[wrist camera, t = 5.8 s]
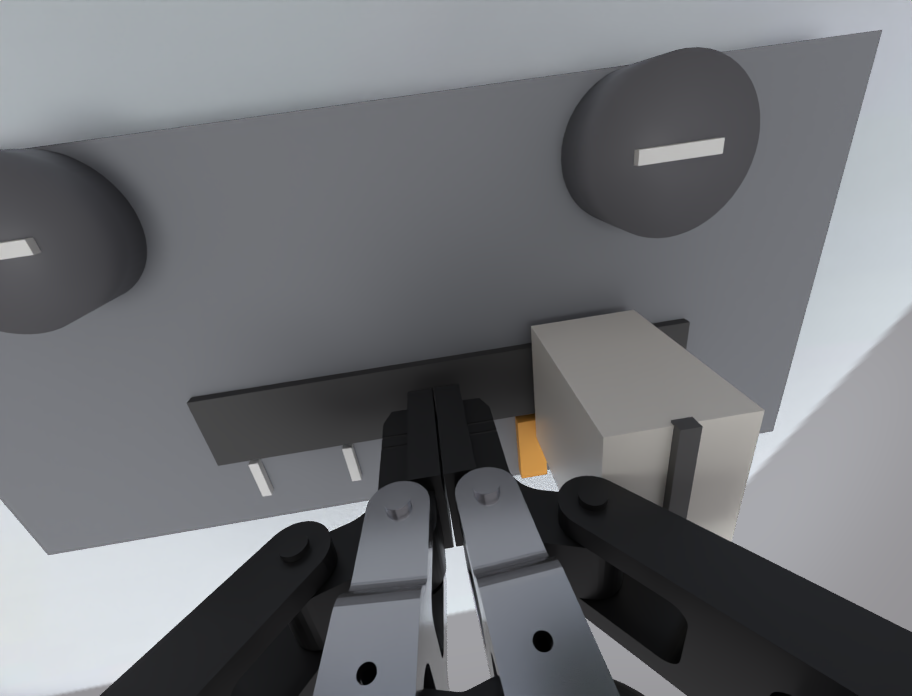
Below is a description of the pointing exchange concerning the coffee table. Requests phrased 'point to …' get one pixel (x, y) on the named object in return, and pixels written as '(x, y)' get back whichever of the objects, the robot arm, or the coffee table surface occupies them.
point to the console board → (392, 274)
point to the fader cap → (642, 416)
